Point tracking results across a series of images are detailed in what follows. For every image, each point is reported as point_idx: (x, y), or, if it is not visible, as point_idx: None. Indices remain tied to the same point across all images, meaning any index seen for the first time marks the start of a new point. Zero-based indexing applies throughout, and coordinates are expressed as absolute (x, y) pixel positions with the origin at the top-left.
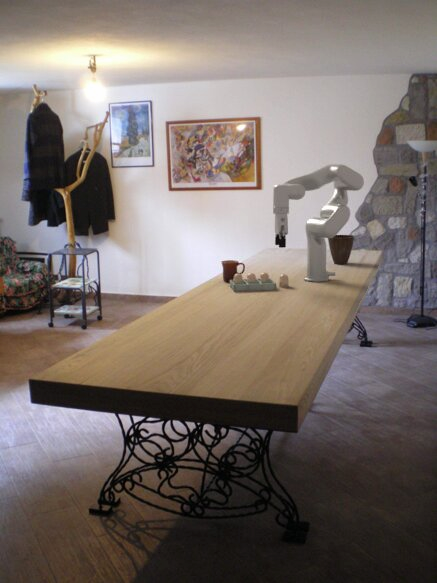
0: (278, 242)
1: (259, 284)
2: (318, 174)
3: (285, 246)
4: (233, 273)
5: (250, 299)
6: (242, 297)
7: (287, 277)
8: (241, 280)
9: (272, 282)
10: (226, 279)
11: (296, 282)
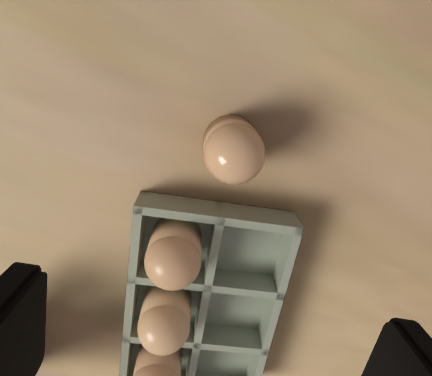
0: (20, 355)
1: (281, 305)
2: None
3: (420, 330)
4: None
5: None
6: None
7: (260, 139)
8: (177, 364)
9: (244, 225)
10: None
11: (130, 7)
